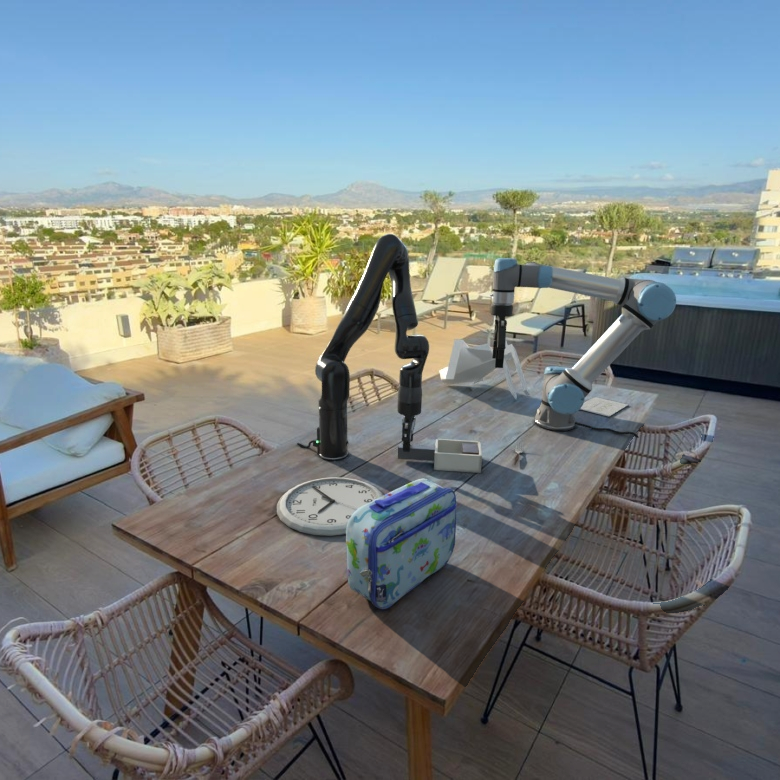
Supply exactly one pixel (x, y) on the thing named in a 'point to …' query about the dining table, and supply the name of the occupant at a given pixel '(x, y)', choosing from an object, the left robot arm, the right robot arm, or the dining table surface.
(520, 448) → the fork
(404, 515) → the lunch box
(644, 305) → the right robot arm
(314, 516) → the wall clock
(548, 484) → the dining table surface
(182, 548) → the dining table surface
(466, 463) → the bin
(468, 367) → the white plastic object
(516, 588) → the dining table surface
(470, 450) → the walnut block
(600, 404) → the invitation card
